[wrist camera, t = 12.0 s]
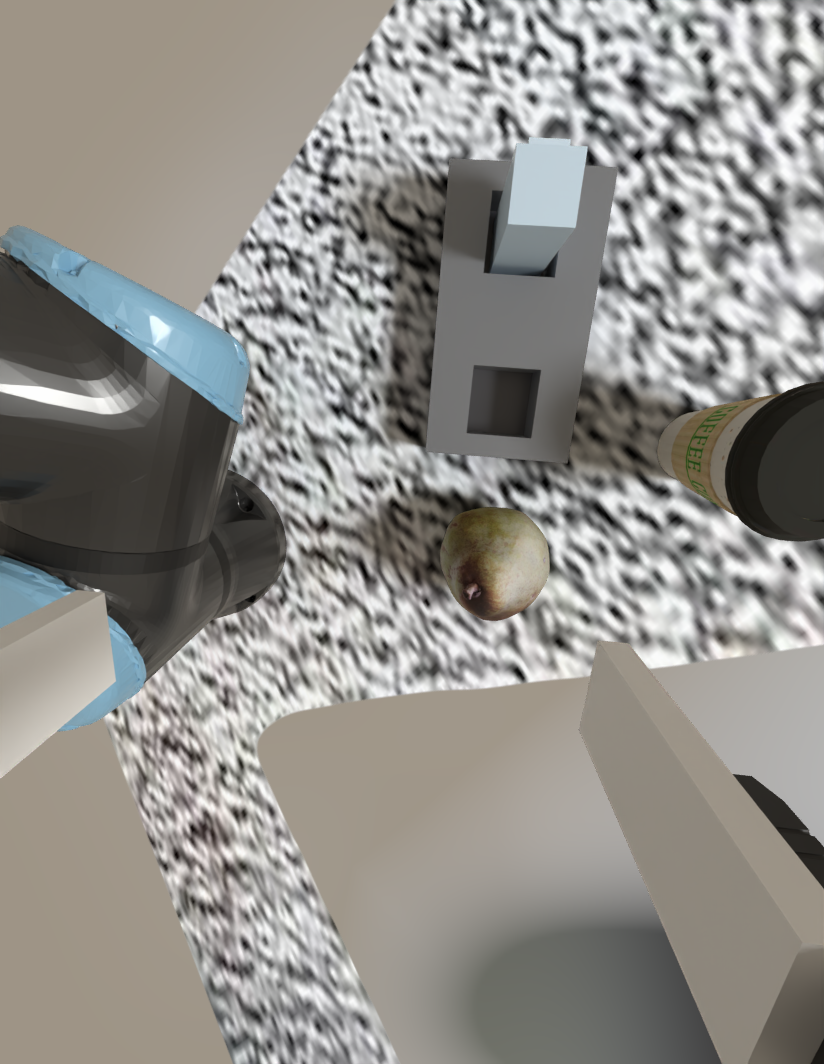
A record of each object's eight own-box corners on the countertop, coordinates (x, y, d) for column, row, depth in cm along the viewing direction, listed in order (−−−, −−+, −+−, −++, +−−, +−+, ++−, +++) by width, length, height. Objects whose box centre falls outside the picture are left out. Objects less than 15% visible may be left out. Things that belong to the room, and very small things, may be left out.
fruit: (424, 518, 43) (418, 558, 32) (514, 478, 42) (543, 505, 30) (466, 605, 45) (475, 673, 34) (553, 571, 44) (593, 629, 32)
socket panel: (426, 447, 41) (425, 451, 37) (448, 185, 36) (449, 158, 32) (555, 458, 41) (567, 463, 37) (598, 193, 35) (618, 167, 31)
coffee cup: (615, 435, 40) (714, 452, 26) (717, 365, 38) (887, 340, 23) (669, 520, 42) (790, 579, 27) (770, 457, 40) (957, 486, 25)
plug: (488, 277, 37) (507, 224, 26) (495, 210, 35) (518, 126, 25) (536, 279, 37) (575, 227, 26) (545, 212, 35) (590, 129, 25)
